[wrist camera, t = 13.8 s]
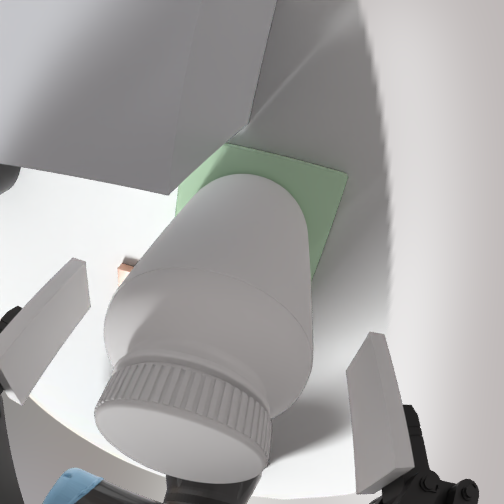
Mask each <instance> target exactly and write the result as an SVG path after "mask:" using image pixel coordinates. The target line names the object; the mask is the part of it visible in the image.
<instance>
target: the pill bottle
mask: <svg viewBox="0 0 504 504" xmlns="http://www.w3.org/2000/svg"><path fill="white" fill-rule="evenodd" d="M104 342H105V347H106V351H107V354H108V357H109V359H110V362H111V364H112V366H113V367H114V368H113V370H112V374H111V378H110V380H109V382H108V384H107V386H106V387H105V389H104V391H103V393H102V395H101V397H100V399H99V401H98V403H97V405H96V407H95V411H94V416H95V422H96V425H97V427H98V429H99V431H100V433H101V434H102V435H103V436H104V438H105V439H106V440H107V441H108V442H109V443H110V444H111V445H112V446H114V447H115V448H116V449H117V450H119V451H120V452H121V453H123V454H124V455H126V456H128V457H129V458H131V459H133V460H134V461H136V462H138V463H140V464H142V465H144V466H146V467H148V468H151V469H153V470H155V471H158V472H161V473H164V474H167V475H170V476H173V477H177V478H180V479H185V480H190V481H195V482H202V483H214V484H227V483H237V482H242V481H246V480H249V479H252V478H254V477H256V476H258V475H259V474H260V473H261V472H262V471H263V470H264V469H265V468H266V466H267V465H268V461H269V453H270V443H271V433H272V424H271V420H270V419H272V418H274V417H276V416H278V415H280V414H281V413H283V412H284V411H285V410H287V409H288V408H289V407H290V406H291V405H292V404H293V403H294V402H295V401H296V400H297V399H298V397H299V396H300V394H301V393H302V391H303V389H304V388H305V385H306V383H307V381H308V378H309V376H310V373H311V369H312V363H313V322H312V296H311V275H310V257H309V241H308V229H307V224H306V221H305V218H304V215H303V212H302V210H301V208H300V206H299V205H298V203H297V202H296V200H295V199H294V198H293V196H292V195H291V194H290V193H289V192H288V191H287V190H286V189H284V188H283V187H282V186H280V185H279V184H277V183H276V182H274V181H272V180H270V179H267V178H265V177H262V176H258V175H253V174H232V175H227V176H223V177H220V178H218V179H216V180H214V181H212V182H210V183H208V184H207V185H205V186H204V187H203V188H201V189H200V190H199V191H198V192H197V193H196V194H195V195H194V196H193V197H192V198H191V199H190V201H189V202H188V203H187V204H186V205H185V206H184V207H183V209H182V210H181V211H180V212H179V213H178V214H177V216H176V217H175V218H174V219H173V220H172V221H171V223H170V224H169V225H168V226H167V227H166V229H165V230H164V231H163V232H162V233H161V235H160V236H159V237H158V238H157V239H156V241H155V242H154V243H153V244H152V245H151V247H150V248H149V249H148V250H147V252H146V253H145V254H144V255H143V257H142V258H141V259H140V260H139V262H138V263H137V264H136V265H135V267H134V268H133V269H132V270H131V272H130V273H129V274H128V276H127V277H126V278H125V279H124V281H123V282H122V283H121V285H120V286H119V287H118V289H117V290H116V292H115V293H114V295H113V297H112V299H111V301H110V303H109V306H108V309H107V313H106V317H105V323H104Z"/></svg>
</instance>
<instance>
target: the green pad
mask: <svg viewBox="0 0 504 504" xmlns="http://www.w3.org/2000/svg"><path fill="white" fill-rule="evenodd" d="M232 174H253V175H258V176H262V177H265V178H267V179H270V180H272V181H274V182H276V183H277V184H279V185H280V186H282V187H283V188H284V189H286V190H287V191H288V192H289V193H290V194H291V195H292V196H293V198H294V199H295V200H296V202H297V203H298V205H299V206H300V208H301V210H302V212H303V215H304V218H305V221H306V224H307V229H308V241H309V257H310V275H311V281H312V279H313V276H314V273H315V271H316V268H317V265H318V263H319V260H320V257H321V254H322V252H323V249H324V246H325V244H326V241H327V238H328V235H329V232H330V230H331V227H332V224H333V221H334V218H335V215H336V212H337V209H338V206H339V203H340V201H341V198H342V195H343V192H344V189H345V185H346V182H347V179H348V176H347V174H346V173H344V172H340V171H337V170H333V169H330V168H326V167H323V166H319V165H316V164H312V163H308V162H305V161H301V160H297V159H293V158H289V157H285V156H281V155H277V154H273V153H269V152H265V151H261V150H256V149H252V148H247V147H243V146H238V145H233V144H229V143H225V144H224V145H223V146H221V147H220V148H219V149H218V150H217V151H216V152H215V153H213V154H212V155H211V156H210V157H209V158H208V159H207V160H206V161H204V162H203V163H202V164H201V165H200V166H199V167H198V168H197V169H196V170H195V171H194V172H192V173H191V174H190V175H189V176H188V177H187V178H186V179H185V180H184V181H183V182H182V183H181V184H180V185H179V186H178V195H177V203H176V212H175V217H176V216H177V214H178V213H179V212H180V211H181V210H182V209H183V207H184V206H185V205H186V204H187V203H188V202H189V201H190V199H191V198H192V197H193V196H194V195H195V194H196V193H197V192H198V191H199V190H200V189H201V188H203V187H204V186H205V185H207V184H208V183H210V182H212V181H214V180H216V179H218V178H220V177H223V176H227V175H232Z"/></svg>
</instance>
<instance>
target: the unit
mask: <svg viewBox="0 0 504 504" xmlns="http://www.w3.org/2000/svg"><path fill="white" fill-rule="evenodd" d="M276 3H277V0H0V164H6V165H12V166H18V167H24V168H30V169H36V170H42V171H47V172H53V173H58V174H64V175H69V176H75V177H80V178H85V179H90V180H96V181H101V182H106V183H111V184H116V185H121V186H126V187H130V188H135V189H140V190H145V191H150V192H154V193H159V194H164V195H169V194H170V193H171V192H172V191H173V190H174V189H175V188H177V187H178V186H179V185H180V184H181V183H182V182H183V181H184V180H185V179H186V178H187V177H188V176H189V175H190V174H191V173H192V172H194V171H195V170H196V169H197V168H198V167H199V166H200V165H201V164H202V163H203V162H204V161H206V160H207V159H208V158H209V157H210V156H211V155H212V154H213V153H215V152H216V151H217V150H218V149H219V148H220V147H221V146H223V145H224V144H225V143H226V142H227V141H228V140H229V139H231V138H232V137H233V136H234V135H235V134H236V133H238V132H239V131H240V130H241V129H242V128H244V127H245V126H246V125H247V124H248V123H249V119H250V114H251V110H252V105H253V101H254V96H255V92H256V87H257V83H258V78H259V74H260V70H261V65H262V61H263V57H264V52H265V48H266V44H267V40H268V36H269V31H270V27H271V23H272V19H273V15H274V11H275V7H276Z"/></svg>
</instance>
